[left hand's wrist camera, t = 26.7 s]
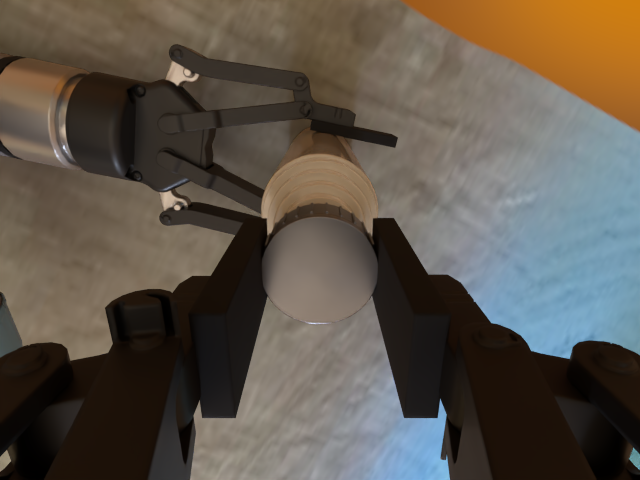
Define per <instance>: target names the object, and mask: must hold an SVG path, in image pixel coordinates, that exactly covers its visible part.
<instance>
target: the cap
mask: <svg viewBox="0 0 640 480" xmlns="http://www.w3.org/2000/svg"><path fill="white" fill-rule="evenodd" d="M374 245H375V244H374V241H373V238H372V236H371V233H370V232H369V233H368V231H367V229H366V227H365V224H364V222H363V221H362V222H361V221H360V220H359V219H358V218H357V217H356V216H355V215H354V213H353V212H352V213H350V212H349V211H347V210H345V209H343V208H342V206H339V207H338V206H335V205H330V204H328V203H327V202H325V204H320V203H318V204H313V203H311V204H309V205H304V206H302V207H299V206H297V208H296V209H294V210H292V211H291V212H289V213H288V214H287V212H286V213H285V215H284V217H283V218H281V219H280V220H279V222H278V223H277V222H276V223H275V225H274V227H273V230H272V232H271V234H270V233H269V234H268V237H267V239H266V242H265V245H264V246H265V250H264V252H263V256H262V259H261V262H262V280H263V287H264V290H265V292H266V294H267V295H268V297H269V299H270V300H271V301H272V303H273V304H274V305H275V306H276V307H277V308H278V309H279V310H280V311H282V312H283V313H285V314H286V315H288V316H290V317H291V318H294V319H296V320H299V321H302V322H306V323H312V324H328V323H334V322H337V321H341V320H343V319H346V318H348V317H350V316H351V315H353V314H355V313H356V312H357V311H359V310H360V309H361V308H362V307H363V306H364V305H365V304H366V303H367V302H368V300H369V299H370V298H371V296H372V294H373V293H374V290H375V288H376V285H377V276H378V258H377V255H376V252H375V249H374Z"/></svg>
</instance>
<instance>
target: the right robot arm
mask: <svg viewBox="0 0 640 480" xmlns="http://www.w3.org/2000/svg"><path fill="white" fill-rule="evenodd" d="M169 55H170V58H171V59H172V63H171V65H170V68H169V71H168V74H167V76H166V79H165V80H158V81H156V82H152V83H147V82H142V81H137V80H133V79H128V78H123V77H118V76H113V75H109V74H104V73H99V72H93V73H89V72H88V71H86V70H84V69H80V68H75V67H70V66H65V65H61V64H56V63H51V62H47V61H42V60H37V59H32V58H24V57H20V56H12V55H7V54H3V53H0V155H2V156H7V157H13V158H17V159H22V160H28V161H33V162H38V163H43V164H48V165H53V166H58V167H63V168H67V169H72V170H81V169H83V170H85V171H87V172H89V173H94V174H99V175H105V176H110V177H115V178H120V179H125V180H130V181H137V182H141V183H144V184H146V185H148V186H149V187H151V188H152V189H153V190H155V191H157V192H159V194H160V198H161V202H162V206H163V212H162V213H161V214H160V216H159V218H160V221H161V223H162V224H164V225H167V226H170V225H181V224H192V225H196V226H200V227H204V228H208V229H212V230H217V231H221V232H225V233H229V234H233V235H236V234H237V232H238V230H239V229H240V227H241V225H242V224H243V222H244V220H245V219H246V218H262V217H258V216H254V215H250V214H246V213H242V212H237V211H233V210H229V209H225V208H221V207H217V206H213V205H209V204H205V203H199V202H191V201H190V199H189V198H188V197H187V196H183V195H180V194H178V193H177V192H176V190H175V188H177V187H179V186H181V185H183V184H185V183H187V182H189V181H192V182H194V183H196V184H198V185H200V186H202V187H204V188H209V189H213V190H215V191H217V192H219V193H221V194H223V195H225V196H227V197H229V198H231V199H233V200H235V201H237V202H239V203H241V204H242V205H244V206H246V207H248V208H250V209H252V210H254V211H256V212H258V213H260V214H261V204H262V198H263V194H264V191H265V190H263V189H261V188H259V187H257V186H255V185H253V184H251V183H249V182H247V181H245V180H243V179H241V178H240V177H238V176H236V175H234V174H232V173H230V172H228V171H226V170H225V169H224V168H223V167H221V166H220V165H218V164H216V163H214V162H213V151H212V143H213V140H214V137H215V132H216V128H220V127H228V126H237V125H247V124H256V123H265V122H275V121H284V120H294V119H303V118H305V119H311V120H312V122H311V127H310V130H312V131H317V132H322V133H327V134H332V135H337V136H341V137H346V138H351V139H356V140H361V141H366V142H370V143H375V144H380V145H385V146H390V147H395V146H396V143H397V139H398V137H396V136H394V135H392V134H388V133H383V132H379V131H374V130H369V129H364V128H360V127H355V126H353V125H354V120H355V115H356V114H354V113H353V112H351V111H350V110H347V109H343V108H338V107H333V106H329V105H324V104H319V103H316V102H315V101H314V100H313V99H312V97H311V92H310V85H309V80H308V78H307V76H306V75H305V74H303V73H299V72H293V71H286V70H280V69H273V68H267V67H260V66H254V65H247V64H240V63H234V62H227V61H221V60H214V59H208V58H206V57H205V56H203V55H201V54H199V53H197V52H196V51H194V50H192V49H189V48H187V47H184V46H181V45H178V44H175V45H173V46H171V48H170V50H169ZM202 76H206V77H210V78H216V79H223V80H229V81H236V82H243V83H249V84H256V85H263V86H269V87H276V88H283V89H289V90H293V92H294V98H295V102H287V103H278V104H269V105H259V106H250V107H241V108H231V109H222V110H212V111H205V109H204V108H203V107H202V106H201V105H200V104H199V103H198V102H197V101H196V100H195V99H194V98H193V97H192V96H191V95H190V94H189V93H188V92H187V91H186V90H185V89H184V88H183V87H182V86H183V84H184V83H185V82H187V81H190V82H198V81H200V80H201V78H202ZM20 347H23V346H22V340H21V338H20V335H19V333H18V330H17V328H16V326H15V323H14V321H13V318H12V316H11V314H10V311H9V309H8V306H7V304H6V299H5V297H4V295H3V293H1V292H0V357H2V356H4V355H5V354H7V353H10V352H12V351H15V350H17V349H18V348H20Z"/></svg>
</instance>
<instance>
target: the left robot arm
mask: <svg viewBox="0 0 640 480" xmlns="http://www.w3.org/2000/svg"><path fill="white" fill-rule="evenodd" d="M267 237H268V232H267V218H246V219H245V220H244V222H243V224H242V225H241V227H240V229H239V230H238V232H237V234H236V235H235V237H234V239H233V240H232V242H231V244H230V245H229V247H228V249H227V250H226V252H225V253H224V255H223V257H222V258H221V260H220V262H219V263H218V265H217V267H216V268H215V270H214V272H213V273H212V275H211V276H192V277H190V278H188V279H187V280H185V281H183V282H182V283H180V284H179V285H178V286H177V288H176V289H175V290H174V292H173V293H172V292H170V291H166V290H162V289H147V290H141V291H135V292H132V293H129V294H126V295H123V296H121V297H119V298H117V299H115V300H113V301H112V302H111V303H110V304H109V305H107V306H106V307H105V310H106V314H107V319H108V323H109V328H110V332H111V337H112V341H113V345H112V347H111V349H110V351H109V353H106V354H102V355H98V356H93V357H88V358H83V359H77V360H72V361H70V358H69V354H68V350H67V348H65V347H64V346H63V345H62V344H57V343H52V342H50V343H36V344H30V346H28V345H27V346H23V347H20V348H18V349H17V350H15V351H12V352H10V353H7V354H5V355H4V356H2V357H0V456H1V455H2V454H3V453H4V452H5V451H6V450H7V451H8V453H9V456H10V459H11V462H10V463H9V464H8V465H7V466H6V468H5V469H3V470H2V471H1V472H0V480H190V475H191V467H192V459H193V451H194V443H195V436H196V431H195V424H194V417H193V415H194V413H195V410H196V408H197V405H198V403H199V400H200V405H201V412H202V418H236V414H237V411H238V407H239V403H240V399H241V395H242V391H243V388H244V384H245V380H246V376H247V372H248V369H249V365H250V361H251V357H252V353H253V349H254V346H255V342H256V338H257V334H258V330H259V326H260V323H261V319H262V315H263V311H264V307H265V304H266V300H267V296H268V295H267V294H266V292H265V290H264V287H263V280H262V262H261V259H262V256H263V252H264V250H265V246H264V245H265V242H266V239H267ZM372 238H373V241H374V244H375V245H374V249H375V252H376V255H377V258H378V276H377V285H376V288H375V290H374V293H373V294H372V297H373V301H374V305H375V308H376V312H377V316H378V320H379V324H380V327H381V331H382V335H383V339H384V343H385V347H386V350H387V354H388V358H389V362H390V366H391V370H392V373H393V377H394V381H395V385H396V389H397V392H398V396H399V400H400V404H401V408H402V412H403V415H404V418H438V410H439V403H440V399H441V401H442V404H443V406H444V409H445V411H446V414H447V417H446V424H445V431H444V438H443V444H442V451H441V460H446V455H447V458H448V466H449V474H450V480H640V470H639V469H638V468H637V467H635V465H634V464H633V463H632V462H631V461H630V460H629V458H630V455H631V452H632V450H633V447H634V448H635V449H636V450H637V452H638V453H639V454H640V355H638V354H637V353H635V352H633V351H630V350H628V349H626V348H623V347H622V346H620V345H617V344H613V343H612V344H610V343H609V342H604V341H584V342H579V343H577V344H576V345H575V346H574V347H573V349H572V353H571V357H570V359H567V358H561V357H556V356H551V355H546V354H540V353H536V352H532V351H531V350H530V348H529V346H528V344H527V343H526V341H525V340H524V339H523V338H522V337H521V336H520V335H519V334H517V333H516V332H514V331H512V330H511V329H508V328H506V327H503V326H501V325H498V324H492V323H491V322H490V321H489V320H488V318H487V317H486V316H485V314H484V313H483V312H482V310H481V309H480V308H479V306H478V305H477V304H476V302H474V300H473V298H472V297H471V296H470V294H468V292H467V290H466V289H465V288H464V286H463V285H462V284H461V283H460V282H459V281H457V280H455V279H454V278H452V277H450V276H449V275H428V274H427V272H426V270H425V269H424V267H423V265H422V264H421V262H420V261H419V259H418V257H417V256H416V254H415V252H414V251H413V249H412V247H411V246H410V244H409V242H408V241H407V239H406V237H405V236H404V234H403V232H402V231H401V229H400V228H399V226H398V224H397V223H396V221H395V219H394V218H373V227H372Z"/></svg>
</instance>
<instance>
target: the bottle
mask: <svg viewBox="0 0 640 480" xmlns="http://www.w3.org/2000/svg"><path fill="white" fill-rule="evenodd" d="M325 202H327V203H328V204H330V205H335V206H338V207H339V206H342V208H343V209H345V210H347V211H349V212H350V213H352V212H353V213H354V215H355V216H356V217H357V218H358V219H359V220H360V221H361V222H362V221H363V222H364V224H365V227H366V229H367V231H368V233H369V232H370V233H371V236H372V227H373V218H378V202H377V196H376V193H375V190H374V188H373V186H372V184H371V182H370V180H369V179H368V177H367V175H366V173H365V172H364V170H363V168H362V167H361V165H360V163H359V162H358V160H357V158H356V157H355V155H354V153H353V151H352V150H351V148H350V146H349V145H348V143H347V141H346V140H345V138H344V137H341V136H337V135H332V134H327V133H322V132H317V131H312V130H310V127H309V128H307V129H305V130H303V131H302V132H300V133H299V134H298V135H297V136H296V138H295V139H294V141H293V142H292V144H291V146H290V147H289V149H288V151H287V152H286V154H285V156H284V157H283V159H282V161H281V162H280V164H279V166H278V167H277V169H276V171H275V172H274V174H273V176H272V177H271V179H270V181H269V183H268V184H267V186H266V189H265V191H264V194H263V198H262V204H261V216H262V218H267V232H268V234H269V233H270V234H271V232H272V230H273V227H274V225H275V223H276V222H277V223H278V222H279V220H280V219H281V218H283V217H284V215H285V213H286V212H287V214H288V213H289V212H291V211H292V210H294V209H296V208H297V206H299V207H302V206H304V205H309V204H311V203H313V204H318V203H320V204H325Z"/></svg>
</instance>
